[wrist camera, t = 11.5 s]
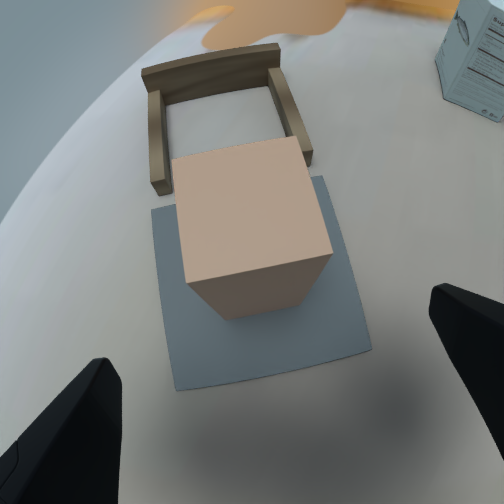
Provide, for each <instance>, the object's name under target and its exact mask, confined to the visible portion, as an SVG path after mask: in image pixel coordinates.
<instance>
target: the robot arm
mask: <svg viewBox="0 0 504 504" xmlns="http://www.w3.org/2000/svg"><path fill="white" fill-rule="evenodd" d="M429 316H430V319H431V321H432V323H433V325H434V327H435V329H436V331H437V333H438V335H439V337H440V339H441V341H442V343H443V346H444V348H445V350H446V352H447V354H448V356H449V358H450V360H451V362H452V363H453V365H454V367H455V369H456V370H457V372H458V374H459V375H460V377H461V379H462V381H463V382H464V384H465V386H466V388H467V389H468V391H469V393H470V395H471V397H472V398H473V400H474V402H475V404H476V406H477V408H478V410H479V411H480V413H481V415H482V417H483V419H484V421H485V423H486V425H487V427H488V429H489V431H490V433H491V435H492V437H493V439H494V441H495V443H496V445H497V447H498V449H499V452H500V454H501V456H502V458H503V460H504V304H502V303H500V302H497V301H494V300H492V299H489V298H486V297H484V296H481V295H478V294H475V293H473V292H470V291H467V290H464V289H462V288H459V287H456V286H453V285H450V284H448V283H443V284H440V285H436V286H434V287H433V289H432V292H431V299H430V305H429ZM121 441H122V382H121V379H120V377H119V375H118V373H117V372H116V370H115V368H114V367H113V365H112V363H111V362H110V360H109V359H108V358H105V357H104V358H95V359H93V360H92V361H91V362H90V363H89V364H88V365H87V366H86V367H85V368H84V369H83V370H82V371H81V372H80V373H79V374H78V375H77V376H76V377H75V378H74V379H73V380H72V381H71V382H70V383H69V384H68V385H67V386H66V387H65V389H64V390H63V391H62V392H61V393H60V394H59V395H58V396H57V397H56V398H55V399H54V400H53V401H52V402H51V403H50V404H49V405H48V406H47V407H46V408H45V410H44V411H43V412H42V413H41V414H40V415H39V416H38V417H37V418H36V419H35V420H34V421H33V422H32V423H31V425H30V426H29V427H28V428H27V429H26V430H25V431H24V432H23V433H22V434H21V435H20V436H19V438H18V439H17V440H16V441H15V442H14V443H13V444H12V445H11V446H10V447H9V449H8V450H7V451H6V452H5V453H4V454H3V455H2V456H1V457H0V504H118V489H119V469H120V454H121Z"/></svg>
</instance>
